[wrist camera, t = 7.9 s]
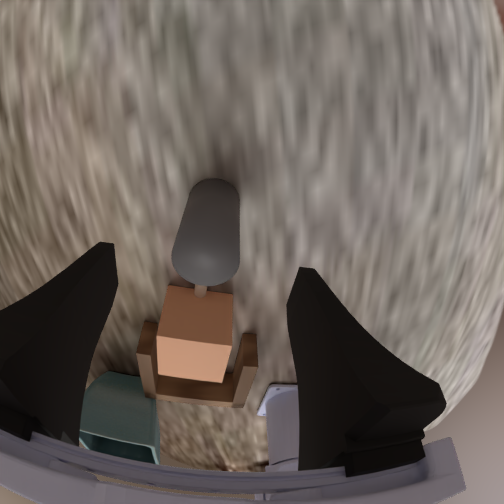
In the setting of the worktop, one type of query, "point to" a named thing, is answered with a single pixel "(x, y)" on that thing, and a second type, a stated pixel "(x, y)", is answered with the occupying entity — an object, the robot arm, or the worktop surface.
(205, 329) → the tethered block
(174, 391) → the lane
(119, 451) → the flower pot
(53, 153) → the worktop surface
